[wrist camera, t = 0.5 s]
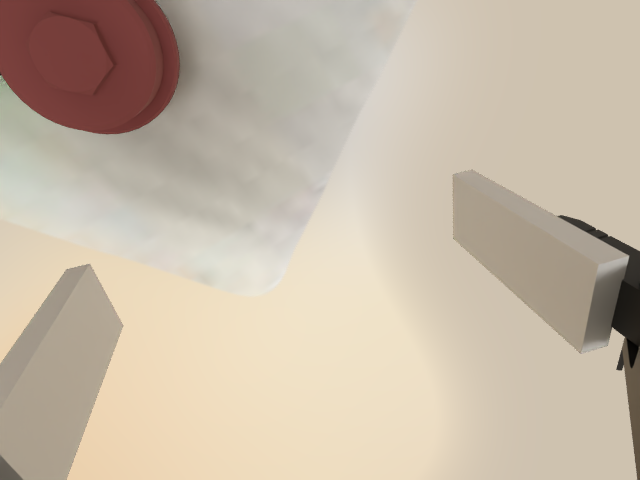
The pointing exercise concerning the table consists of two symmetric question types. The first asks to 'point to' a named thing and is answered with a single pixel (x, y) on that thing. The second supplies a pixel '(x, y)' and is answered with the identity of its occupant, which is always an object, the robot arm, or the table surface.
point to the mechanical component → (89, 61)
